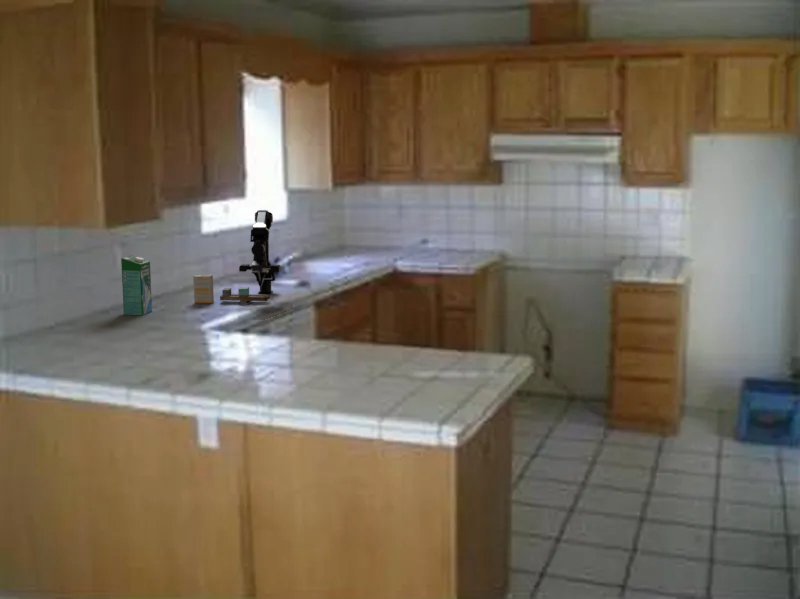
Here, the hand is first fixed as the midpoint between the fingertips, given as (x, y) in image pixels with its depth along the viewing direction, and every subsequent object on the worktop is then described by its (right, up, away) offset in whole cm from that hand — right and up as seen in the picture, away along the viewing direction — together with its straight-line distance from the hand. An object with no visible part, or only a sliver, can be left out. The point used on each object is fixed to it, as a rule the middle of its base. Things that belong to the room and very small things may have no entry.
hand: (260, 286), depth 431 cm
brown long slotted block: (-7, -8, +2) cm, 11 cm away
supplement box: (-27, -8, +1) cm, 28 cm away
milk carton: (-51, -12, -24) cm, 57 cm away
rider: (-8, -6, +2) cm, 10 cm away
